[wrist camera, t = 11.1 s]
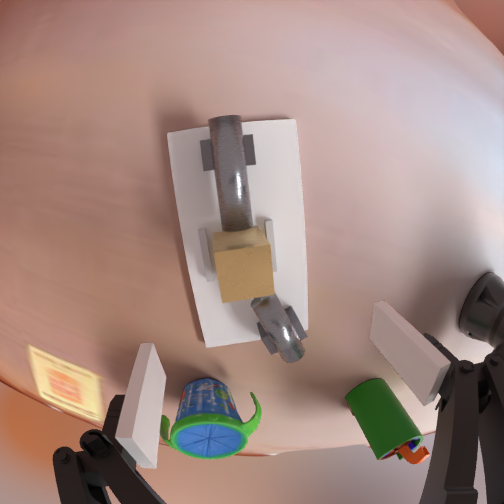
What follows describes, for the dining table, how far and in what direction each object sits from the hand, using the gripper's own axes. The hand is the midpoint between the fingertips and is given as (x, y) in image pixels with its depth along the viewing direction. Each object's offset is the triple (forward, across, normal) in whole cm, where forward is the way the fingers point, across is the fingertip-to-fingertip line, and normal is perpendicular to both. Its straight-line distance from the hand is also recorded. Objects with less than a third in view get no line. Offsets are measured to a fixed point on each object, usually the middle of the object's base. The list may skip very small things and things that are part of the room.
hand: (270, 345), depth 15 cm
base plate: (+19, +1, +1) cm, 19 cm away
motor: (+19, +21, -34) cm, 44 cm away
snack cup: (+19, -8, -23) cm, 31 cm away
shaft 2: (+19, +3, -9) cm, 21 cm away
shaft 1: (+18, 0, +9) cm, 21 cm away
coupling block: (+18, 0, 0) cm, 18 cm away
